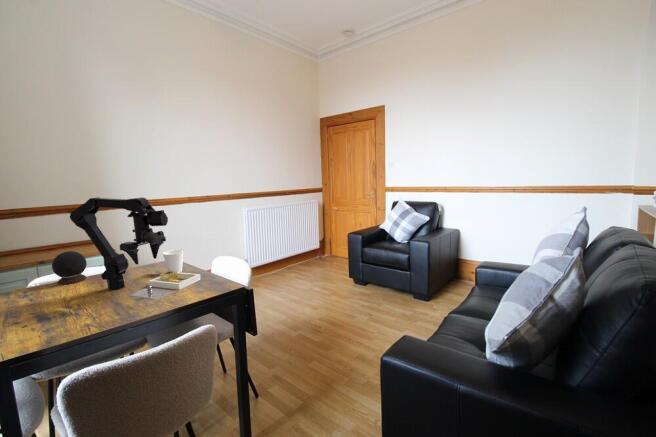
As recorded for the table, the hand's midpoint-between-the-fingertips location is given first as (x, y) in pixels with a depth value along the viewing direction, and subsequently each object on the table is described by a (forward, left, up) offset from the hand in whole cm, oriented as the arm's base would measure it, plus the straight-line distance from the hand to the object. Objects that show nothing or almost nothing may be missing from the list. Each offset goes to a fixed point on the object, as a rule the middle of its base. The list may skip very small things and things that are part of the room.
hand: (146, 261), depth 139 cm
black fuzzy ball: (-49, -2, -13) cm, 50 cm away
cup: (-6, +21, -13) cm, 25 cm away
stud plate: (+8, -6, -12) cm, 16 cm away
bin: (+8, +6, -12) cm, 16 cm away
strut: (+8, +7, -12) cm, 16 cm away
